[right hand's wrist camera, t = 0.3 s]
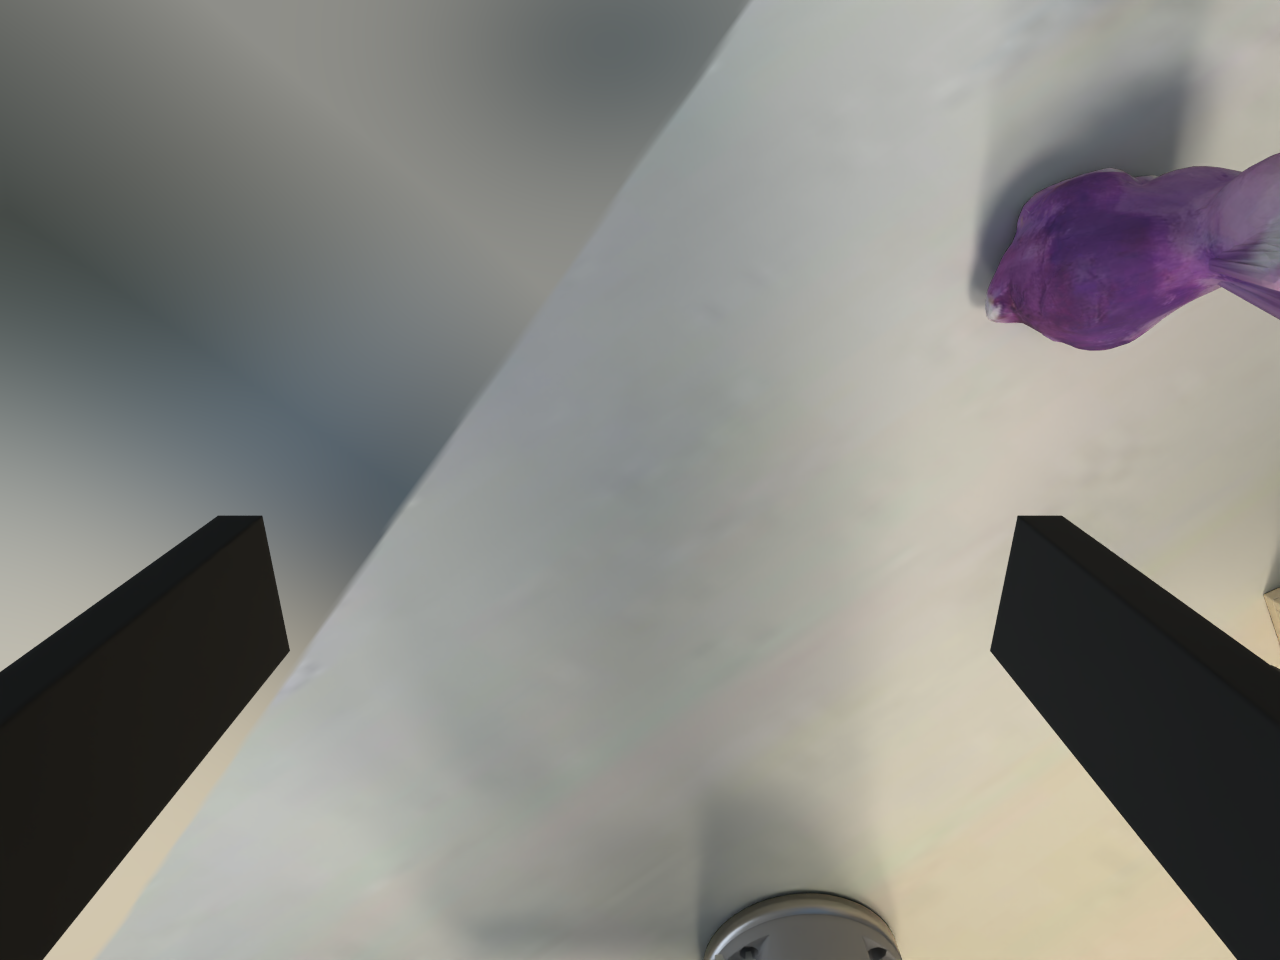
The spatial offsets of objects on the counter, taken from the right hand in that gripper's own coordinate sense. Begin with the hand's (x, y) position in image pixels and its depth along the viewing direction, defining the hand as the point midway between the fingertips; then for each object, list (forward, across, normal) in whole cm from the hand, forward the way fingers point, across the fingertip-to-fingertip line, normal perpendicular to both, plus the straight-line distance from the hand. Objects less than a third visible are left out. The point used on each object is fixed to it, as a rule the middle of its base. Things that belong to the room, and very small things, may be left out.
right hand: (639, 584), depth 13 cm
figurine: (+28, -23, -5) cm, 37 cm away
